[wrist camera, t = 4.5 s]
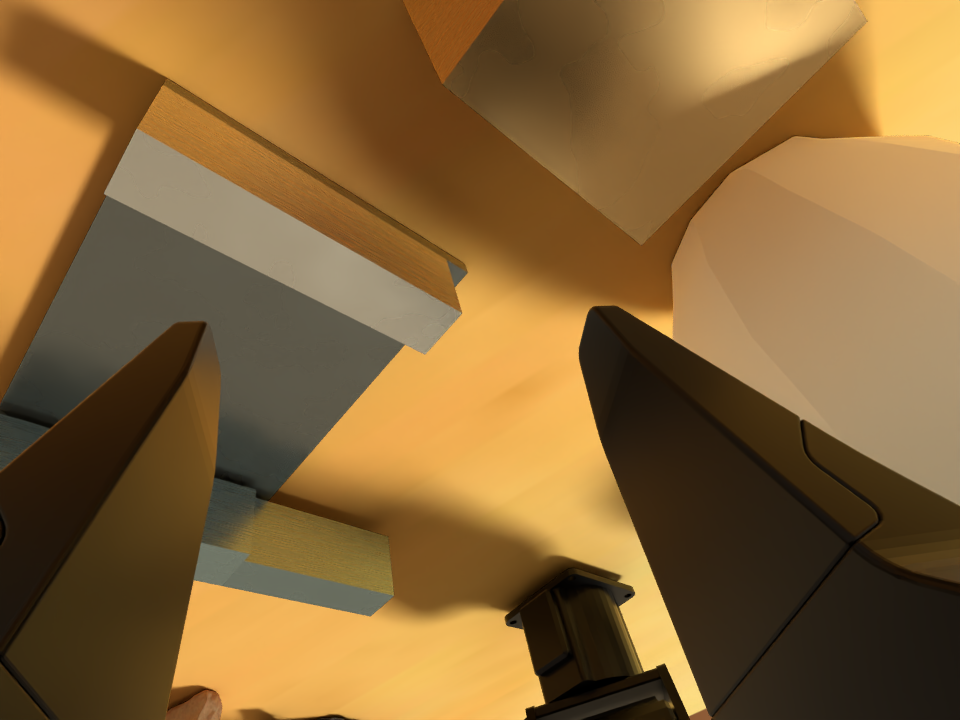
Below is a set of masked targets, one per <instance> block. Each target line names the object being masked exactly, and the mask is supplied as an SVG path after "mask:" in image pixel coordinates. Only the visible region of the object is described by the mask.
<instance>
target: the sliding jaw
mask: <svg viewBox="0 0 960 720" xmlns="http://www.w3.org/2000/svg"><path fill="white" fill-rule="evenodd" d="M49 429H50V428H47V427H44V426H41V425H37V424H34V423H31V422H27V421H24V420H21V419H17V418H14V417H11V416H7V415H4V414H1V413H0V471H1V470H2V469H3V468H5V467H6V466H7V465H8V464H9V463H10V462H12V461H13V460H14V459H15V458H16V457H17V456H19V455H20V454H21V453H22V452H23V451H25V450H26V449H27V448H28V447H29V446H30V445H32V444H33V443H34V442H35V441H36V440H37V439H39V438H40V437H41V436H42V435H43V434H45V433H46V432H47V431H48V430H49ZM255 497H256V490H254V489H251V488H248V487H244V486H241V485H238V484H234V483H231V482H228V481H224V480H221V479H218V478H214V481H213V487H212V492H211V497H210V502H209V507H208V512H207V516H206V521H205V526H204V531H203V536H202V541H201V546H200V551H199V556H198V561H197V566H196V570H195V575H194V580H196V581H201V582H206V583H210V584H215V585H220V586H225V587H230V588H235V589H240V590H244V591H249V592H254V593H259V594H264V595H269V596H274V597H278V598H283V599H288V600H293V601H298V602H303V603H308V604H313V605H317V606H322V607H327V608H332V609H337V610H342V611H347V612H351V613H356V614H361V615H366V616H372V615H373V614H374V613H375V612H376V611H377V610H378V609H380V608H381V607H382V606H383V605H384V604H385V603H386V602H388V601H389V600H390V599H391V598H392V597H393V596H394V589H393V578H392V568H391V558H390V548H389V537H388V536H385V535H381V534H378V533H374V532H371V531H368V530H364V529H361V528H357V527H354V526H350V525H347V524H344V523H340V522H337V521H333V520H330V519H326V518H323V517H320V516H316V515H313V514H309V513H306V512H302V511H299V510H296V509H292V508H289V507H285V506H282V505H279V504H275V503H272V502H268V501H265V500H261V499H258V498H255Z"/></svg>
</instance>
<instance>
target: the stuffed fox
mask: <svg viewBox="0 0 960 720" xmlns="http://www.w3.org/2000/svg"><path fill="white" fill-rule="evenodd" d="M317 720H344V719H342V718H331V719H328V718H321V719H317Z"/></svg>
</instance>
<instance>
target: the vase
mask: <svg viewBox="0 0 960 720" xmlns="http://www.w3.org/2000/svg"><path fill="white" fill-rule="evenodd" d="M671 267H672V286H673V340H674V341H676V342H677V343H679V344H681V345H682V346H684V347H685V348H687V349H689V350H690V351H692V352H694V353H695V354H697V355H699V356H700V357H702V358H704V359H705V360H707V361H709V362H710V363H712V364H714V365H715V366H717V367H719V368H720V369H722V370H723V371H725V372H727V373H728V374H730V375H732V376H733V377H735V378H737V379H738V380H740V381H742V382H743V383H745V384H747V385H748V386H750V387H752V388H753V389H755V390H756V391H758V392H760V393H761V394H763V395H765V396H766V397H768V398H770V399H771V400H773V401H775V402H776V403H778V404H780V405H781V406H783V407H785V408H786V409H788V410H790V411H791V412H793V413H794V414H796V415H798V416H799V417H800V420H802V419H804V420H806V421H808V422H810V423H811V424H813V425H814V426H816V427H818V428H819V429H821V430H823V431H824V432H826V433H828V434H829V435H831V436H833V437H834V438H836V439H838V440H840V441H841V442H843V443H845V444H846V445H848V446H850V447H852V448H853V449H855V450H857V451H858V452H860V453H862V454H864V455H866V456H867V457H869V458H871V459H873V460H875V461H877V462H879V463H880V464H882V465H884V466H886V467H888V468H890V469H891V470H893V471H895V472H897V473H899V474H901V475H903V476H905V477H906V478H908V479H910V480H912V481H914V482H916V483H918V484H920V485H922V486H924V487H925V488H927V489H929V490H931V491H933V492H935V493H937V494H939V495H941V496H943V497H944V498H946V499H948V500H950V501H952V502H954V503H956V504H958V505H960V143H957V142H953V141H949V140H945V139H941V138H937V137H932V136H928V135H917V136H874V137H851V138H828V139H820V138H810V137H800V136H794V137H792V138H790V139H788V140H787V141H785V142H783V143H781V144H780V145H778V146H776V147H775V148H773V149H771V150H769V151H768V152H766V153H764V154H762V155H761V156H759V157H757V158H755V159H754V160H752V161H750V162H749V163H747V164H745V165H743V166H742V167H740V168H738V169H736V170H735V171H733V172H731V173H730V174H729V175H728V176H727V178H726V179H725V180H724V181H723V182H722V184H721V185H720V186H719V187H718V188H717V190H716V191H715V192H714V193H713V194H712V195H711V197H710V198H709V199H708V200H707V201H706V203H705V204H704V205H703V206H702V207H701V209H700V210H699V211H698V212H697V213H696V215H695V216H694V217H693V218H692V219H691V221H690V223H689V225H688V228H687V230H686V232H685V234H684V237H683V239H682V241H681V244H680V246H679V248H678V250H677V253H676V255H675V257H674V260H673V262H672V264H671Z"/></svg>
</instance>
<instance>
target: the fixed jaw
mask: <svg viewBox="0 0 960 720" xmlns="http://www.w3.org/2000/svg"><path fill="white" fill-rule="evenodd" d="M104 194H105V195H107V196H109V197H111V198H113V199H115V200H117V201H119V202H121V203H123V204H125V205H127V206H129V207H131V208H133V209H135V210H137V211H139V212H141V213H143V214H145V215H147V216H149V217H151V218H153V219H155V220H157V221H159V222H161V223H163V224H165V225H167V226H169V227H171V228H173V229H175V230H177V231H179V232H181V233H183V234H185V235H187V236H189V237H191V238H193V239H195V240H197V241H199V242H201V243H203V244H205V245H207V246H209V247H211V248H213V249H215V250H217V251H219V252H221V253H223V254H225V255H227V256H229V257H231V258H233V259H235V260H237V261H239V262H241V263H243V264H245V265H247V266H249V267H251V268H253V269H255V270H257V271H259V272H261V273H263V274H265V275H267V276H269V277H271V278H273V279H275V280H277V281H279V282H281V283H283V284H285V285H287V286H289V287H291V288H293V289H295V290H297V291H299V292H301V293H303V294H305V295H307V296H309V297H311V298H313V299H315V300H317V301H319V302H321V303H323V304H325V305H327V306H329V307H331V308H333V309H335V310H337V311H339V312H341V313H343V314H345V315H347V316H349V317H351V318H353V319H355V320H357V321H359V322H361V323H363V324H365V325H367V326H369V327H371V328H373V329H375V330H377V331H379V332H381V333H383V334H385V335H387V336H389V337H391V338H393V339H395V340H397V341H399V342H401V343H403V344H405V345H407V346H409V347H411V348H413V349H415V350H417V351H419V352H421V353H423V354H426V353H427V352H428V351H429V350H430V349H431V347H432V346H433V345H434V344H435V343H436V342H437V341H438V340H439V339H440V337H441V336H442V335H443V334H444V333H445V332H446V331H447V330H448V329H449V327H450V326H451V325H452V324H453V323H454V322H455V321H456V320H457V319H458V317H459V316H460V315H461V314H462V310H461V307H460V304H459V300H458V297H457V293H456V290H455V287H454V283H453V280H452V276H451V273H450V270H449V266H448V263H447V260H446V259H445V258H443V257H441V256H440V255H438V254H436V253H435V252H433V251H432V250H430V249H428V248H427V247H425V246H424V245H422V244H420V243H419V242H417V241H415V240H414V239H412V238H411V237H409V236H407V235H406V234H404V233H402V232H401V231H399V230H398V229H396V228H394V227H393V226H391V225H389V224H388V223H386V222H385V221H383V220H381V219H380V218H378V217H377V216H375V215H373V214H372V213H370V212H368V211H367V210H365V209H364V208H362V207H360V206H359V205H357V204H355V203H354V202H352V201H351V200H349V199H347V198H346V197H344V196H342V195H341V194H339V193H338V192H336V191H334V190H333V189H331V188H329V187H328V186H326V185H325V184H323V183H321V182H320V181H318V180H317V179H315V178H313V177H312V176H310V175H308V174H307V173H305V172H304V171H302V170H300V169H299V168H297V167H295V166H294V165H292V164H291V163H289V162H287V161H286V160H284V159H282V158H281V157H279V156H278V155H276V154H274V153H273V152H271V151H270V150H268V149H266V148H265V147H263V146H261V145H260V144H258V143H257V142H255V141H253V140H252V139H250V138H248V137H247V136H245V135H244V134H242V133H240V132H239V131H237V130H235V129H234V128H232V127H231V126H229V125H227V124H226V123H224V122H222V121H221V120H219V119H218V118H216V117H214V116H213V115H211V114H210V113H208V112H206V111H205V110H203V109H201V108H200V107H198V106H197V105H195V104H193V103H192V102H190V101H188V100H187V99H185V98H184V97H182V96H180V95H179V94H177V93H175V92H174V91H172V90H171V89H169V88H167V87H166V86H164V85H163V86H162V87H161V89H160V91H159V92H158V94H157V96H156V97H155V99H154V101H153V102H152V104H151V106H150V107H149V109H148V111H147V112H146V114H145V116H144V117H143V119H142V121H141V122H140V124H139V126H138V127H137V129H136V131H135V133H134V135H133V137H132V139H131V141H130V143H129V145H128V147H127V149H126V151H125V153H124V155H123V157H122V159H121V161H120V162H119V164H118V166H117V168H116V170H115V172H114V174H113V176H112V178H111V180H110V182H109V184H108V186H107V188H106V190H105V192H104Z"/></svg>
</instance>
